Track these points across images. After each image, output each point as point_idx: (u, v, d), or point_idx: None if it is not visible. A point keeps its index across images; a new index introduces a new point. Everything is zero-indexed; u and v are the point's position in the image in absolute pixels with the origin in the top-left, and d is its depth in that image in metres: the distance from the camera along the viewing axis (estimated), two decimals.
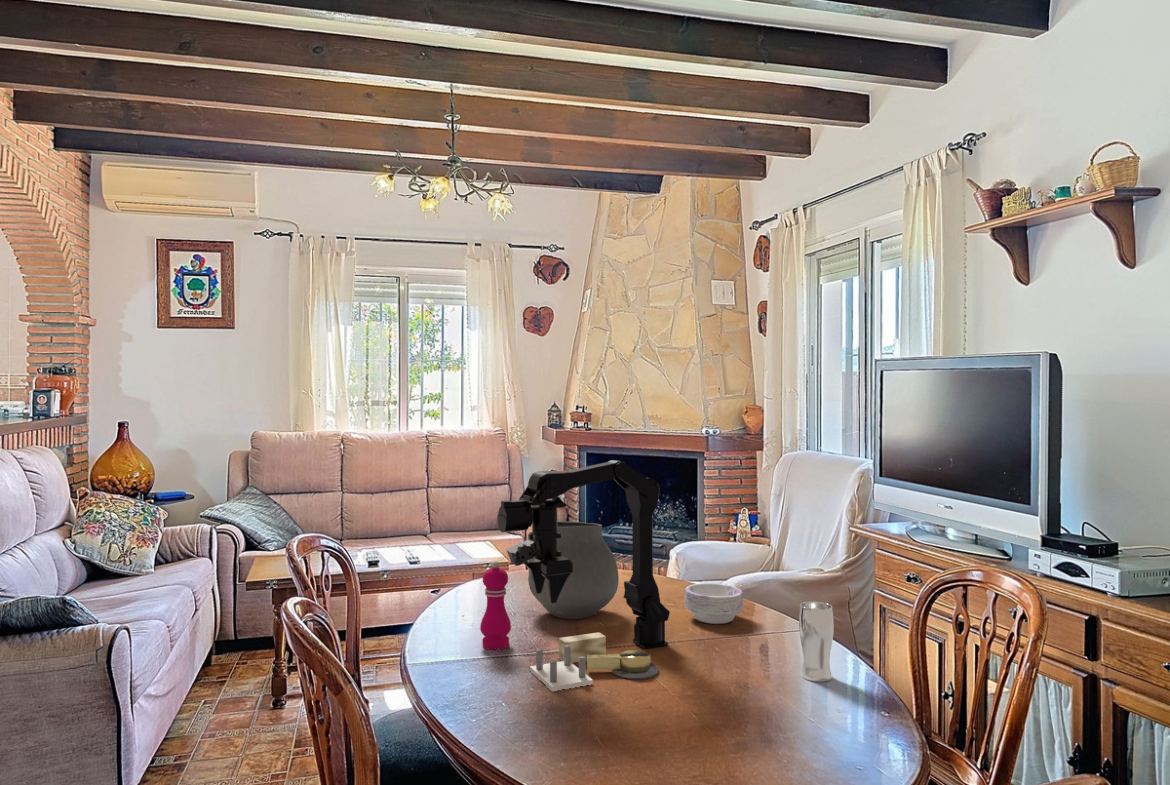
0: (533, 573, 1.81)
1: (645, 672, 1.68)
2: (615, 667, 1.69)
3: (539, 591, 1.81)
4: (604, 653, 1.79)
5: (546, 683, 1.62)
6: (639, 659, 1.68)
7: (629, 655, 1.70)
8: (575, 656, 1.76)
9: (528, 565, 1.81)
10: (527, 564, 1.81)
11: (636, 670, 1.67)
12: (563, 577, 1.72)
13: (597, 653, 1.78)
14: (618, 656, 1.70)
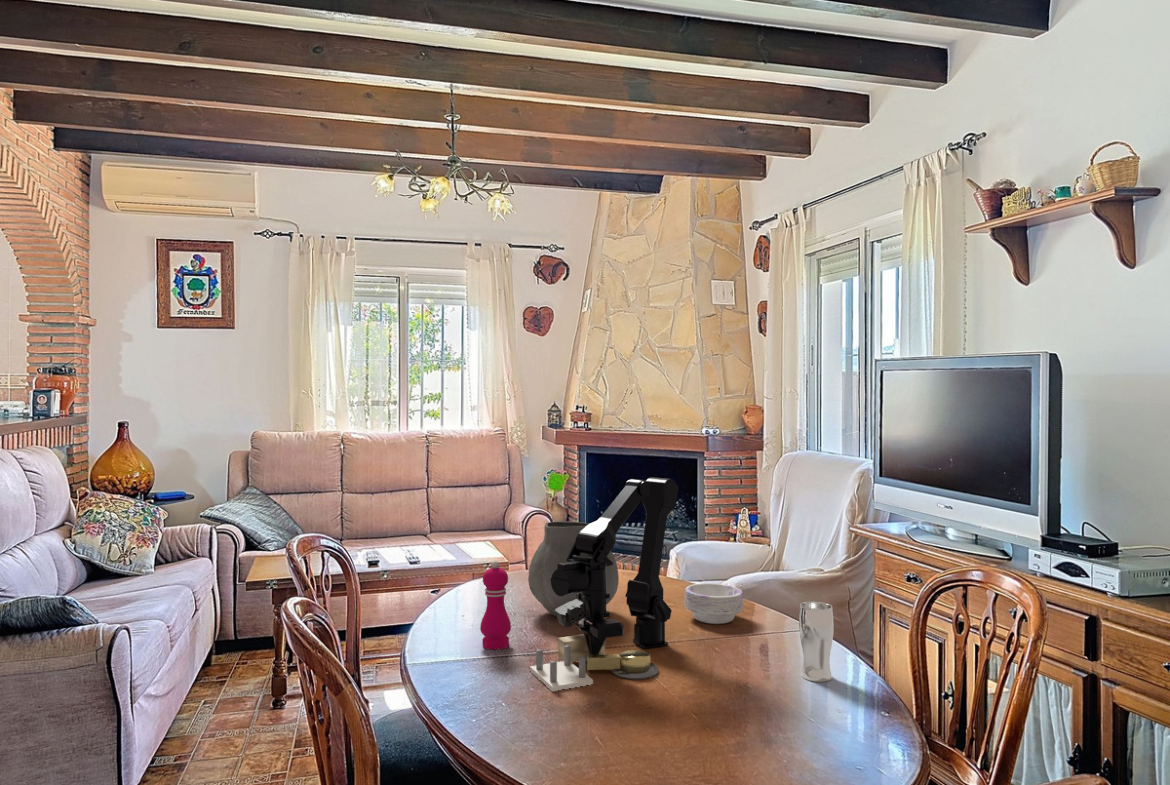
0: (588, 637, 1.75)
1: (645, 672, 1.68)
2: (615, 667, 1.69)
3: None
4: (603, 653, 1.79)
5: (546, 683, 1.62)
6: (639, 659, 1.68)
7: (629, 655, 1.70)
8: (574, 656, 1.76)
9: (583, 629, 1.75)
10: (582, 628, 1.75)
11: (636, 670, 1.67)
12: None
13: None
14: (618, 656, 1.70)
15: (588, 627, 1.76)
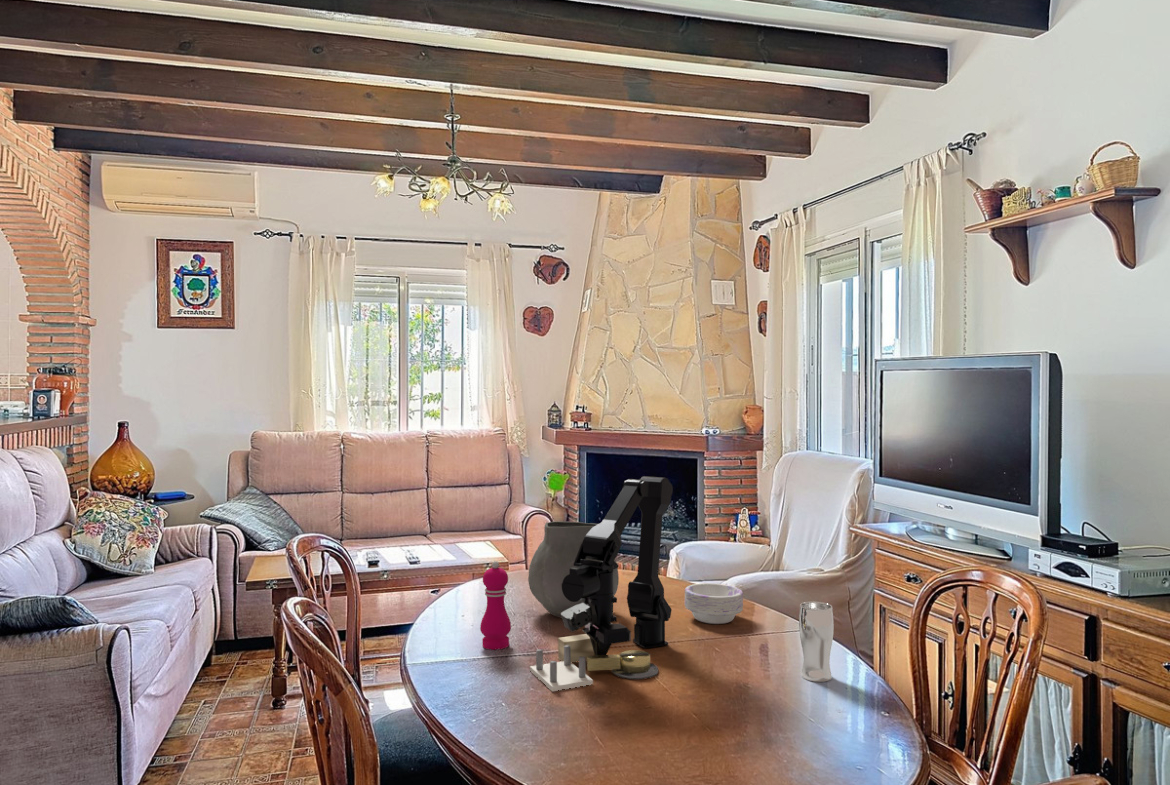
0: None
1: (645, 672, 1.68)
2: (615, 667, 1.69)
3: None
4: None
5: (546, 683, 1.62)
6: (640, 659, 1.68)
7: (629, 655, 1.70)
8: (574, 656, 1.76)
9: (589, 634, 1.72)
10: (588, 633, 1.72)
11: (637, 670, 1.67)
12: None
13: None
14: (618, 656, 1.70)
15: (594, 631, 1.72)
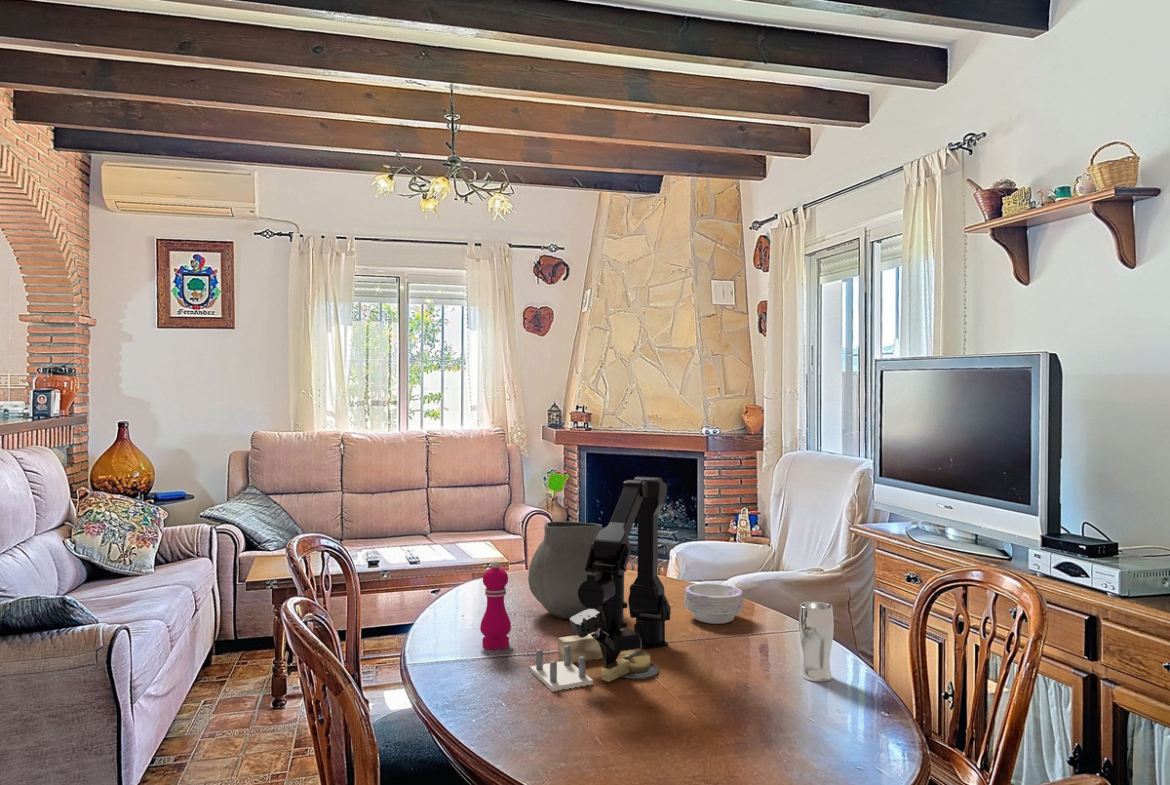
0: (603, 648, 1.67)
1: (645, 672, 1.68)
2: (626, 671, 1.66)
3: None
4: None
5: (546, 683, 1.62)
6: (646, 657, 1.69)
7: (633, 656, 1.69)
8: (574, 656, 1.76)
9: (598, 640, 1.67)
10: (597, 639, 1.67)
11: (647, 668, 1.68)
12: None
13: (597, 652, 1.78)
14: (626, 660, 1.67)
15: (604, 637, 1.68)
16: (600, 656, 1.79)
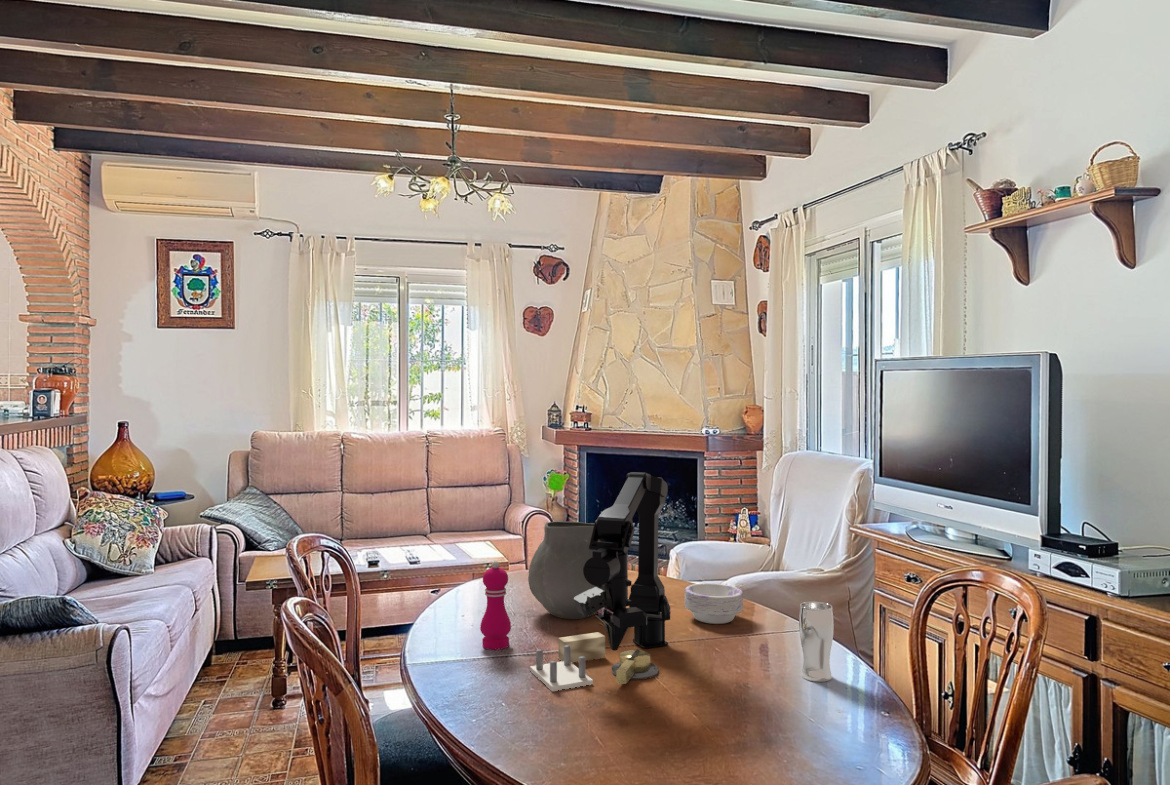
0: (608, 628, 1.65)
1: (645, 672, 1.68)
2: (634, 672, 1.66)
3: None
4: (603, 653, 1.79)
5: (546, 683, 1.62)
6: (647, 655, 1.70)
7: (635, 656, 1.69)
8: (575, 656, 1.76)
9: (603, 619, 1.65)
10: (602, 618, 1.65)
11: (649, 666, 1.69)
12: None
13: (597, 652, 1.78)
14: (632, 660, 1.67)
15: (608, 617, 1.66)
16: (600, 656, 1.79)
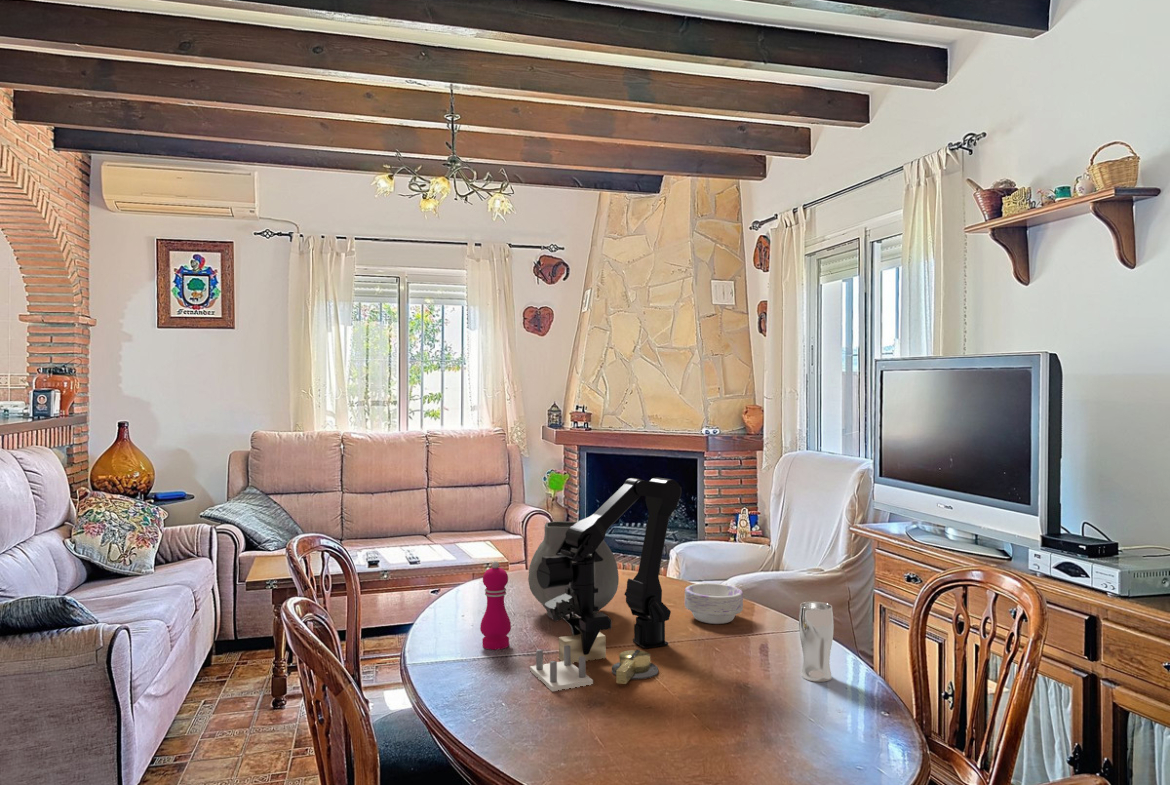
0: (573, 629, 1.80)
1: (645, 672, 1.68)
2: (634, 672, 1.66)
3: None
4: (604, 652, 1.79)
5: (546, 683, 1.62)
6: (647, 655, 1.70)
7: (635, 656, 1.69)
8: (575, 655, 1.76)
9: (569, 621, 1.80)
10: (568, 620, 1.80)
11: (649, 666, 1.69)
12: None
13: (597, 652, 1.78)
14: (632, 660, 1.67)
15: (574, 619, 1.80)
16: (601, 656, 1.79)
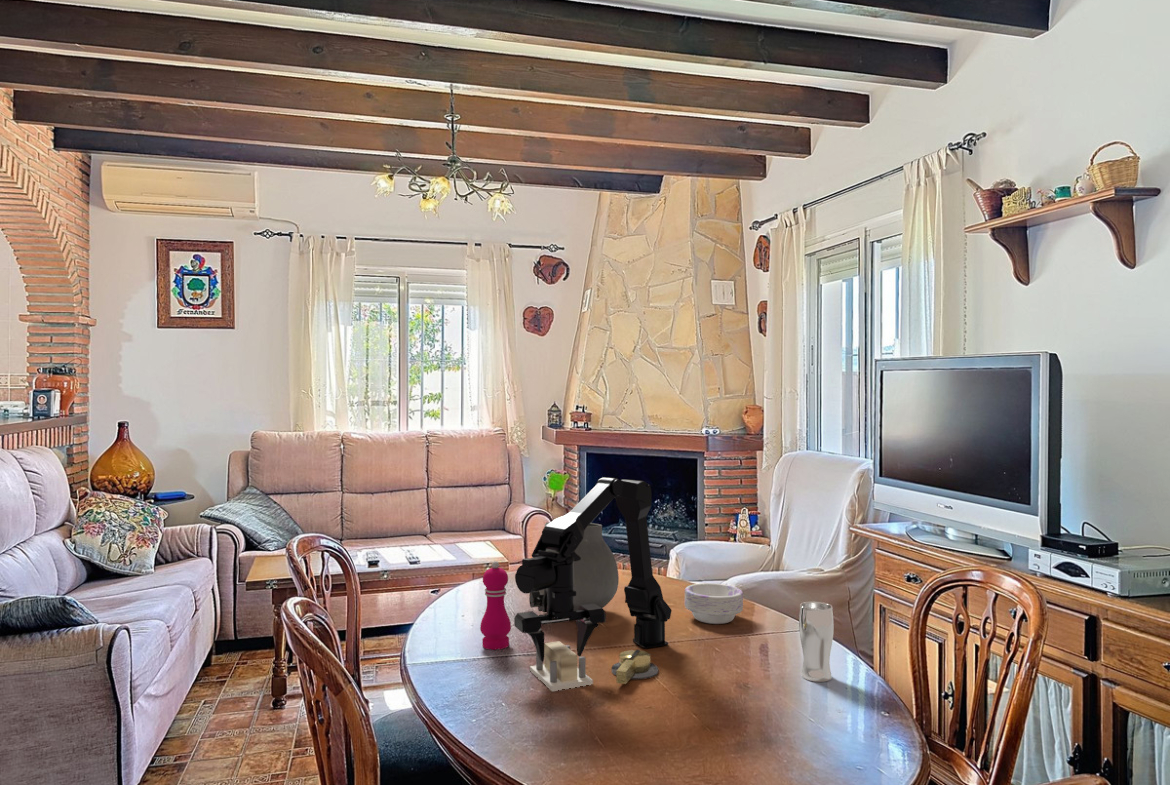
0: (577, 632, 1.70)
1: (645, 672, 1.68)
2: (634, 672, 1.66)
3: (578, 654, 1.68)
4: (560, 675, 1.62)
5: (546, 683, 1.62)
6: (647, 655, 1.70)
7: (635, 656, 1.69)
8: (548, 662, 1.68)
9: (576, 622, 1.71)
10: (576, 620, 1.71)
11: (649, 666, 1.69)
12: None
13: (557, 671, 1.63)
14: (632, 660, 1.67)
15: (579, 622, 1.69)
16: (559, 677, 1.63)
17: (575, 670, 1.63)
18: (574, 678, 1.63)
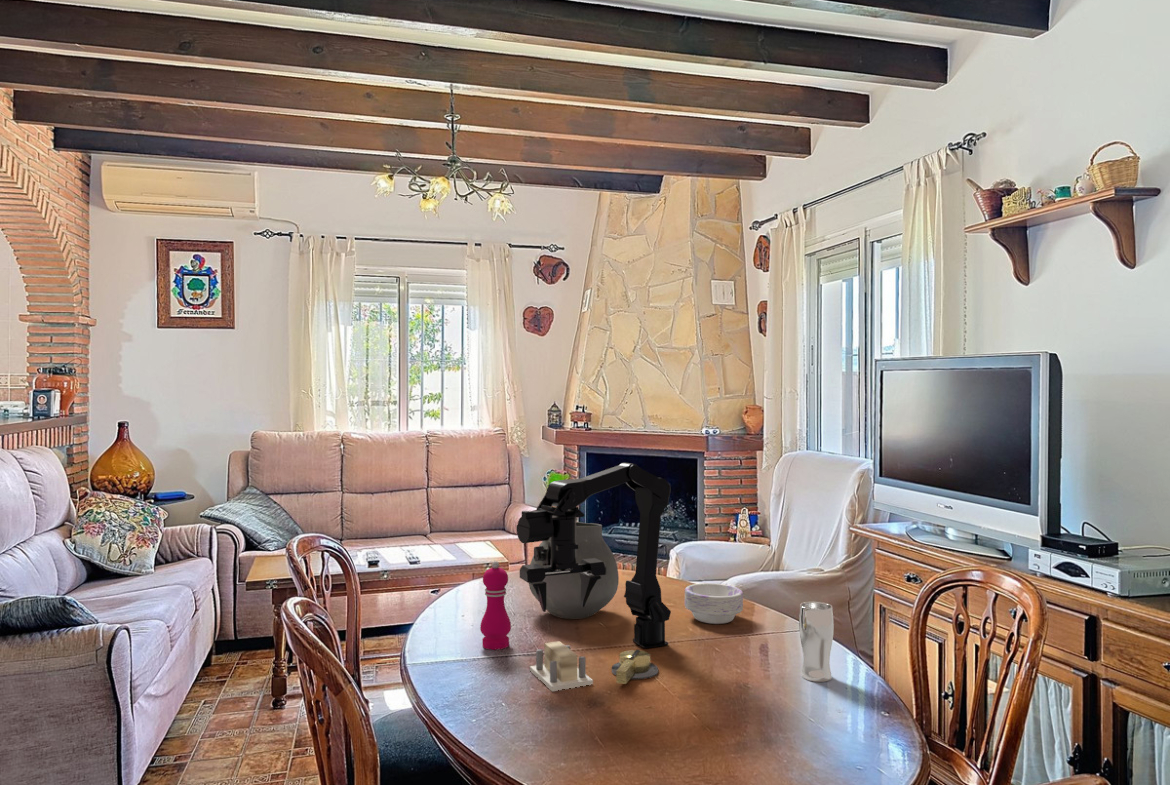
0: (581, 584, 1.79)
1: (645, 672, 1.68)
2: (634, 672, 1.66)
3: (581, 604, 1.77)
4: (560, 675, 1.62)
5: (546, 683, 1.62)
6: (647, 655, 1.70)
7: (635, 656, 1.69)
8: (548, 662, 1.68)
9: (580, 575, 1.80)
10: (580, 574, 1.80)
11: (649, 666, 1.69)
12: None
13: (557, 671, 1.63)
14: (632, 660, 1.67)
15: (583, 575, 1.78)
16: (559, 677, 1.63)
17: (575, 670, 1.63)
18: (574, 678, 1.63)
